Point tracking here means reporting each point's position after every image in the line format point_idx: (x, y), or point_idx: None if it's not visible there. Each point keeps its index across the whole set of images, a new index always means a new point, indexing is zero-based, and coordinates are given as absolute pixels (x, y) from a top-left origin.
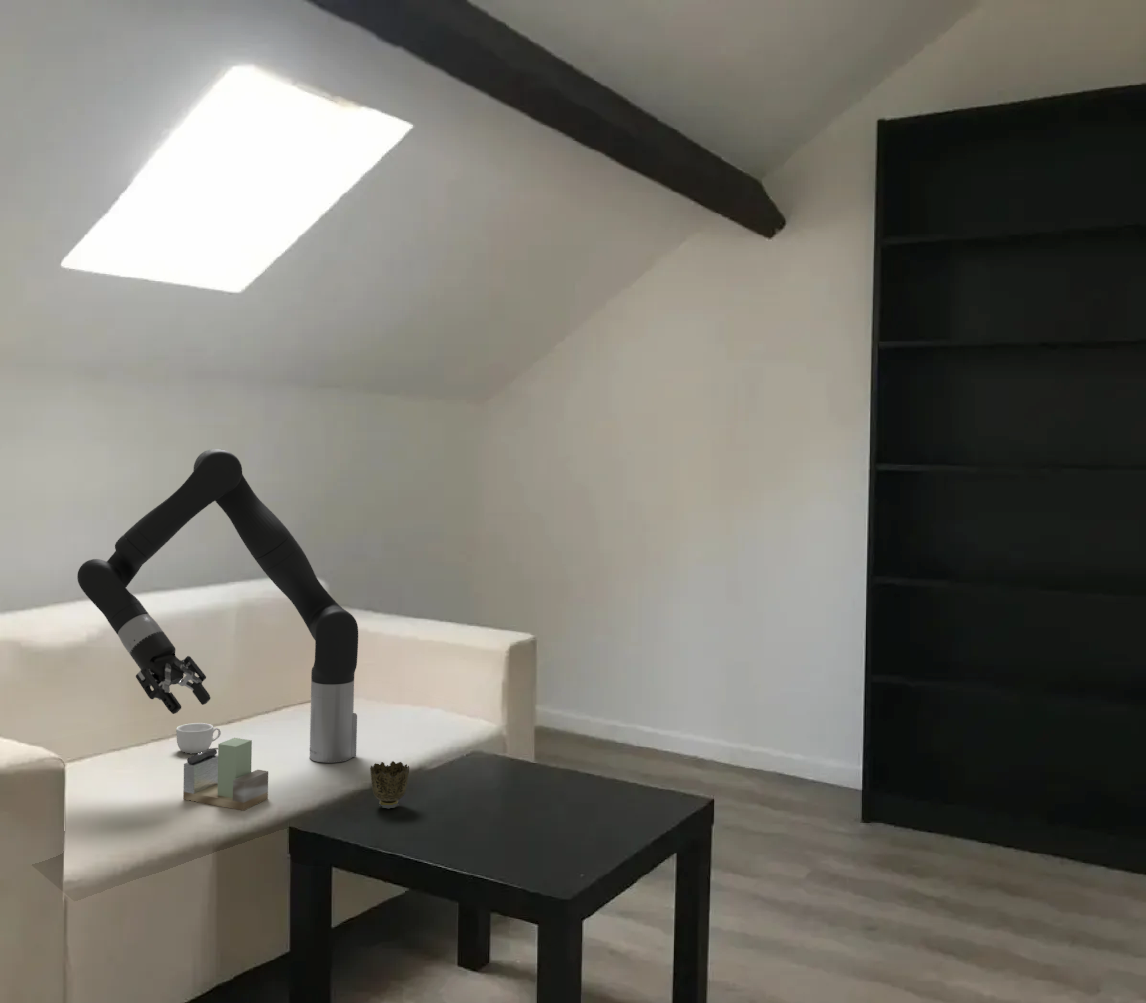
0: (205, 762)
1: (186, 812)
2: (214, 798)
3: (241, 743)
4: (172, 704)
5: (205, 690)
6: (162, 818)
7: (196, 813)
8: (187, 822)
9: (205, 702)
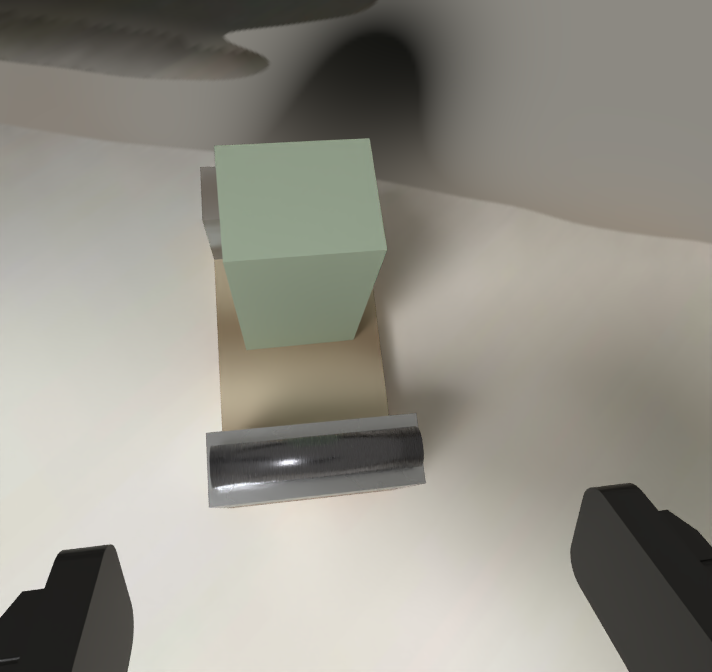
0: (328, 422)
1: (485, 370)
2: (378, 332)
3: (301, 152)
4: (702, 544)
5: (22, 659)
6: (576, 394)
7: (471, 333)
8: (548, 295)
9: (122, 585)
